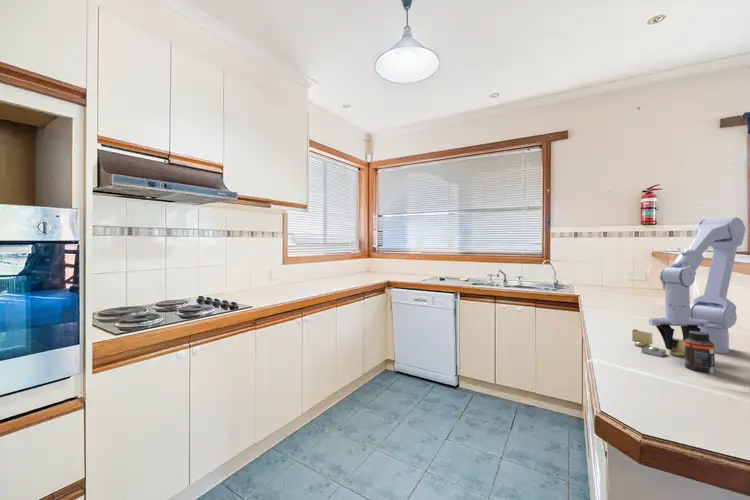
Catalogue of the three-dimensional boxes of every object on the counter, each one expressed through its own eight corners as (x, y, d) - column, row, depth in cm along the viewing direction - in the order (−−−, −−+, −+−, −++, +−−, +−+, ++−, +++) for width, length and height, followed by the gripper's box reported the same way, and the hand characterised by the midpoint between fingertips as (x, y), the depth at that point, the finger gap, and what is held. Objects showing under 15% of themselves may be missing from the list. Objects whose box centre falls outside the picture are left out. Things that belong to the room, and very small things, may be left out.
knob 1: (654, 347, 113) (654, 331, 113) (647, 348, 111) (647, 333, 111) (637, 343, 117) (636, 328, 117) (630, 344, 116) (630, 330, 116)
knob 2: (692, 356, 103) (692, 339, 103) (684, 358, 101) (684, 341, 101) (671, 351, 107) (671, 335, 107) (664, 353, 106) (664, 337, 106)
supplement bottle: (721, 378, 89) (720, 335, 89) (695, 376, 90) (694, 334, 90) (704, 370, 94) (703, 330, 94) (679, 369, 96) (678, 329, 96)
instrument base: (634, 346, 118) (634, 337, 118) (696, 357, 105) (696, 348, 105) (620, 352, 111) (620, 343, 111) (685, 365, 98) (684, 355, 98)
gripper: (696, 303, 106) (696, 346, 106) (643, 302, 110) (644, 344, 110) (712, 307, 99) (713, 353, 100) (655, 306, 103) (656, 350, 103)
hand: (678, 349), depth 104 cm, fingers closed on knob 2, 4 cm apart
